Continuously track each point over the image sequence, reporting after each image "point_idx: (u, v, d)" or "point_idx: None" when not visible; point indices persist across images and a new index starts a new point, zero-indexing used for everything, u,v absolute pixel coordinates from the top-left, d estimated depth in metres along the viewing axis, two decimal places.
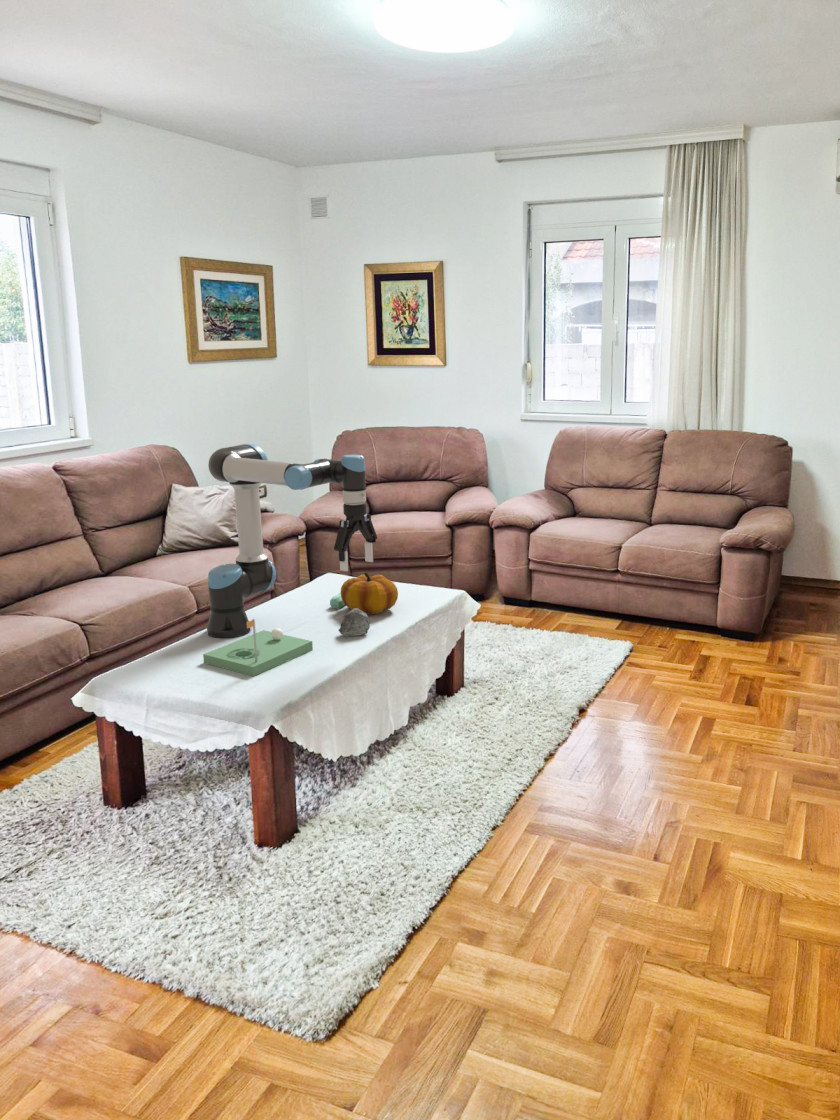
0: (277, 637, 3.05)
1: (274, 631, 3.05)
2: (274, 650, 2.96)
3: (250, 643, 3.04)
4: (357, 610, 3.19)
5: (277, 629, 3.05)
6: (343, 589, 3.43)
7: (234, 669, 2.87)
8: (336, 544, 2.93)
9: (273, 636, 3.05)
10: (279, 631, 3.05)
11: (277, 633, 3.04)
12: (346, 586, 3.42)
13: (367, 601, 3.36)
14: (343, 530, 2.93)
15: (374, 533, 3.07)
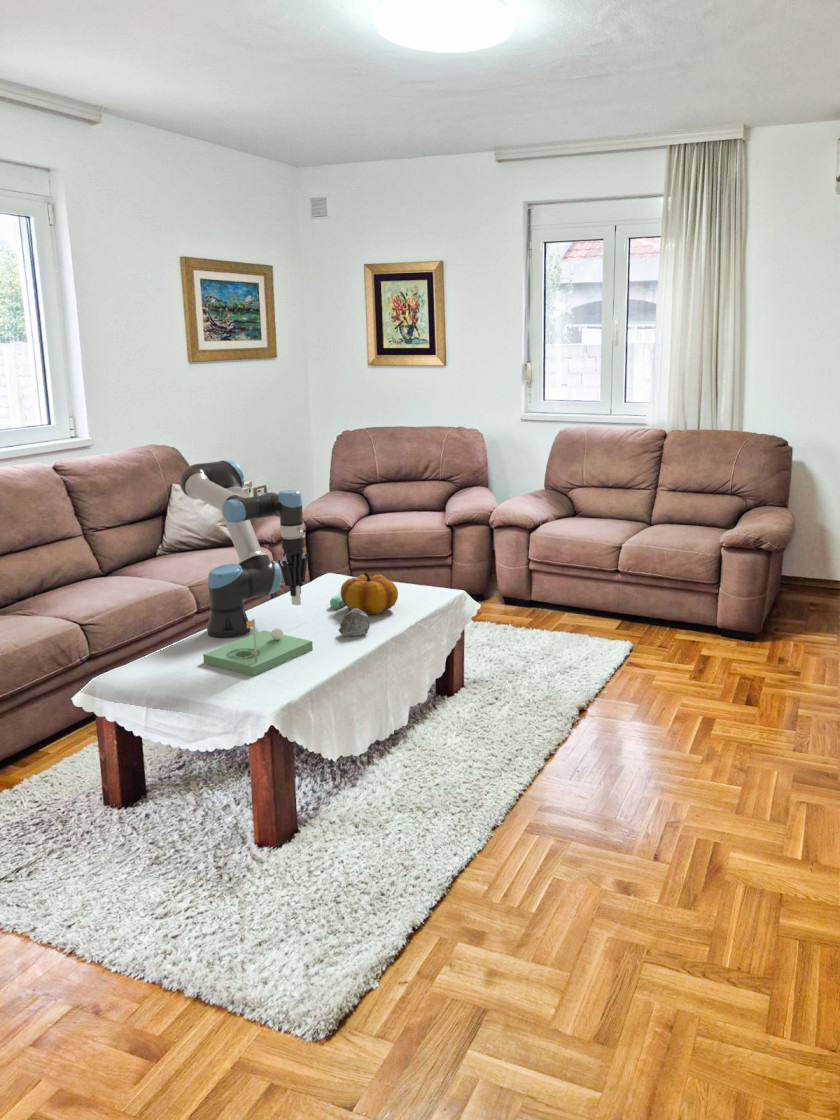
0: (277, 637, 3.05)
1: (274, 631, 3.05)
2: (274, 650, 2.96)
3: (250, 643, 3.04)
4: (357, 610, 3.19)
5: (277, 629, 3.05)
6: (343, 589, 3.43)
7: (234, 669, 2.87)
8: (285, 581, 3.07)
9: (273, 636, 3.05)
10: (279, 631, 3.05)
11: (277, 633, 3.04)
12: (346, 586, 3.42)
13: (367, 601, 3.36)
14: (285, 569, 3.04)
15: (304, 575, 3.12)
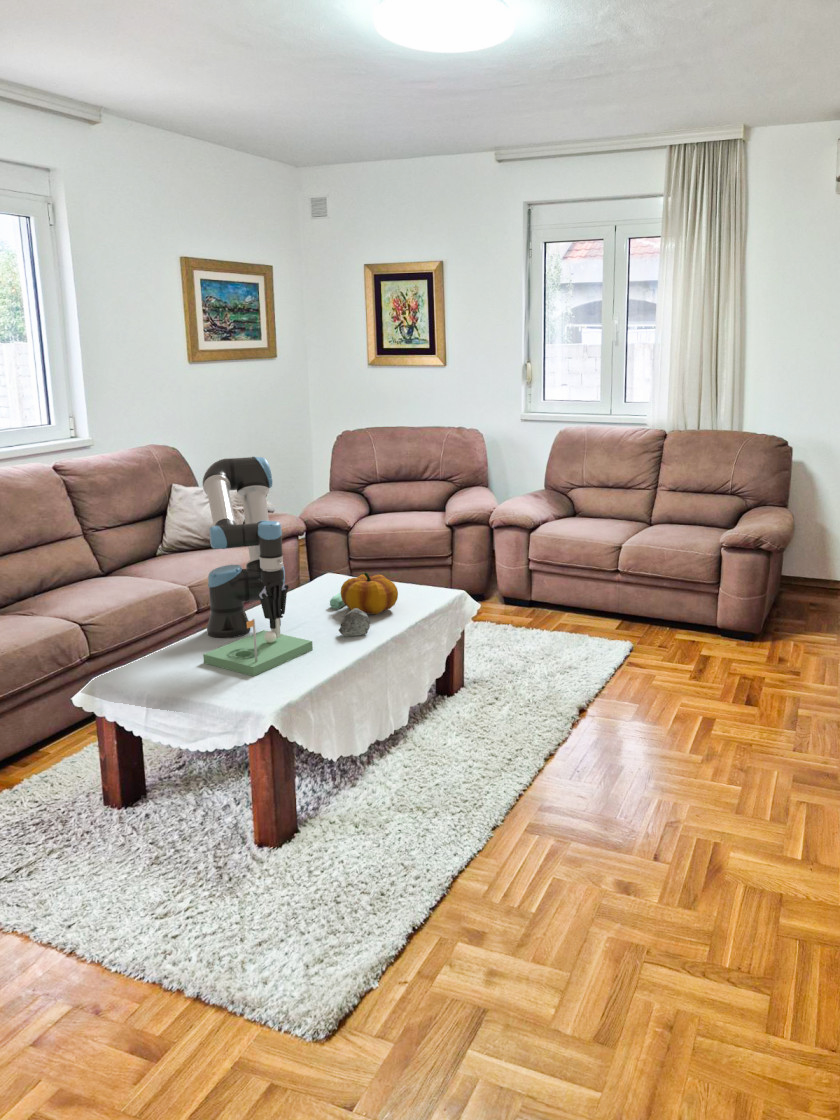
0: (274, 640, 3.04)
1: (268, 642, 3.03)
2: (274, 650, 2.96)
3: (250, 643, 3.04)
4: (357, 610, 3.19)
5: (268, 639, 3.02)
6: (343, 589, 3.43)
7: (234, 669, 2.87)
8: (265, 614, 3.01)
9: None
10: (271, 639, 3.02)
11: (272, 641, 3.02)
12: (346, 586, 3.42)
13: (367, 601, 3.36)
14: (265, 602, 2.98)
15: (284, 607, 3.06)
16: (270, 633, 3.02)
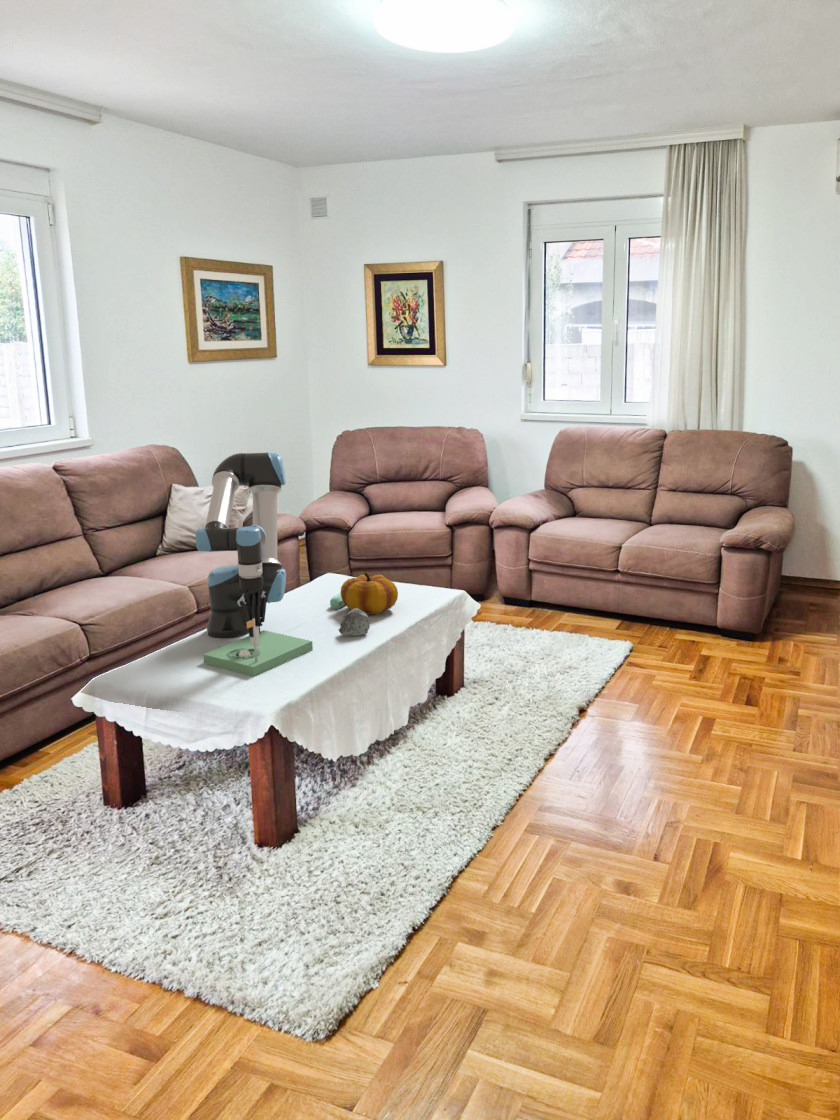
0: None
1: None
2: (274, 650, 2.96)
3: (250, 643, 3.04)
4: (357, 610, 3.19)
5: None
6: (343, 589, 3.43)
7: (234, 669, 2.87)
8: (243, 622, 2.93)
9: None
10: None
11: None
12: (346, 586, 3.42)
13: (366, 601, 3.36)
14: (243, 609, 2.90)
15: (263, 615, 2.98)
16: (243, 651, 2.94)
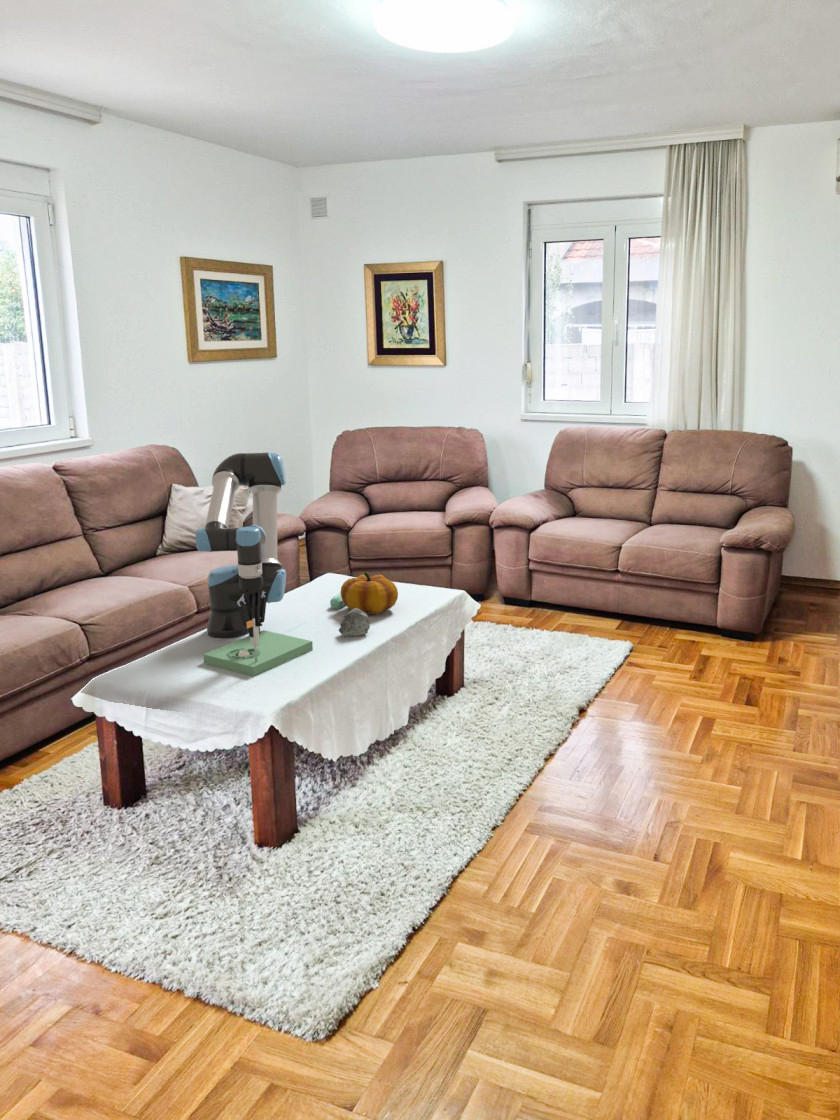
0: None
1: None
2: (274, 650, 2.96)
3: (250, 643, 3.04)
4: (357, 610, 3.19)
5: None
6: (343, 589, 3.43)
7: (234, 669, 2.87)
8: (243, 622, 2.93)
9: None
10: None
11: None
12: (346, 586, 3.42)
13: (367, 601, 3.36)
14: (243, 610, 2.90)
15: (263, 615, 2.98)
16: (241, 652, 2.93)
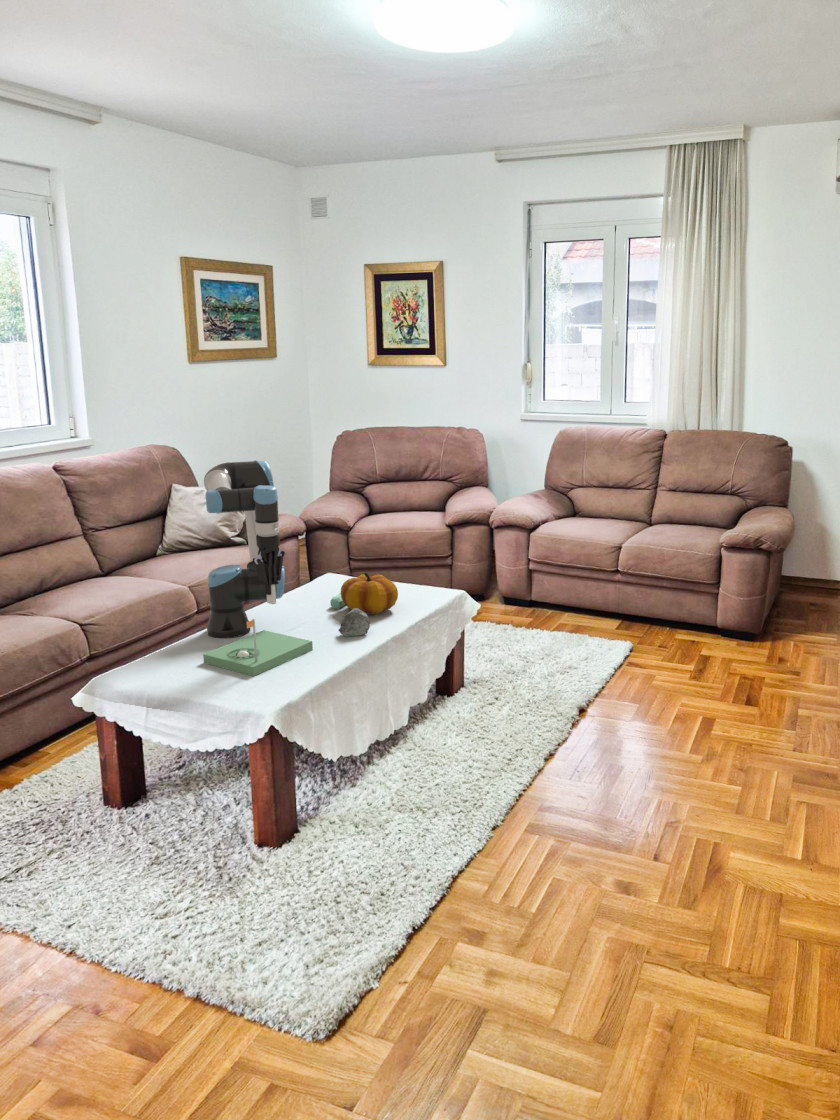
0: None
1: None
2: (274, 650, 2.96)
3: (250, 643, 3.04)
4: (357, 610, 3.19)
5: None
6: (343, 589, 3.43)
7: (234, 669, 2.87)
8: (260, 580, 2.97)
9: None
10: None
11: None
12: (346, 586, 3.42)
13: (367, 601, 3.36)
14: (260, 567, 2.95)
15: (280, 573, 3.02)
16: (240, 653, 2.93)
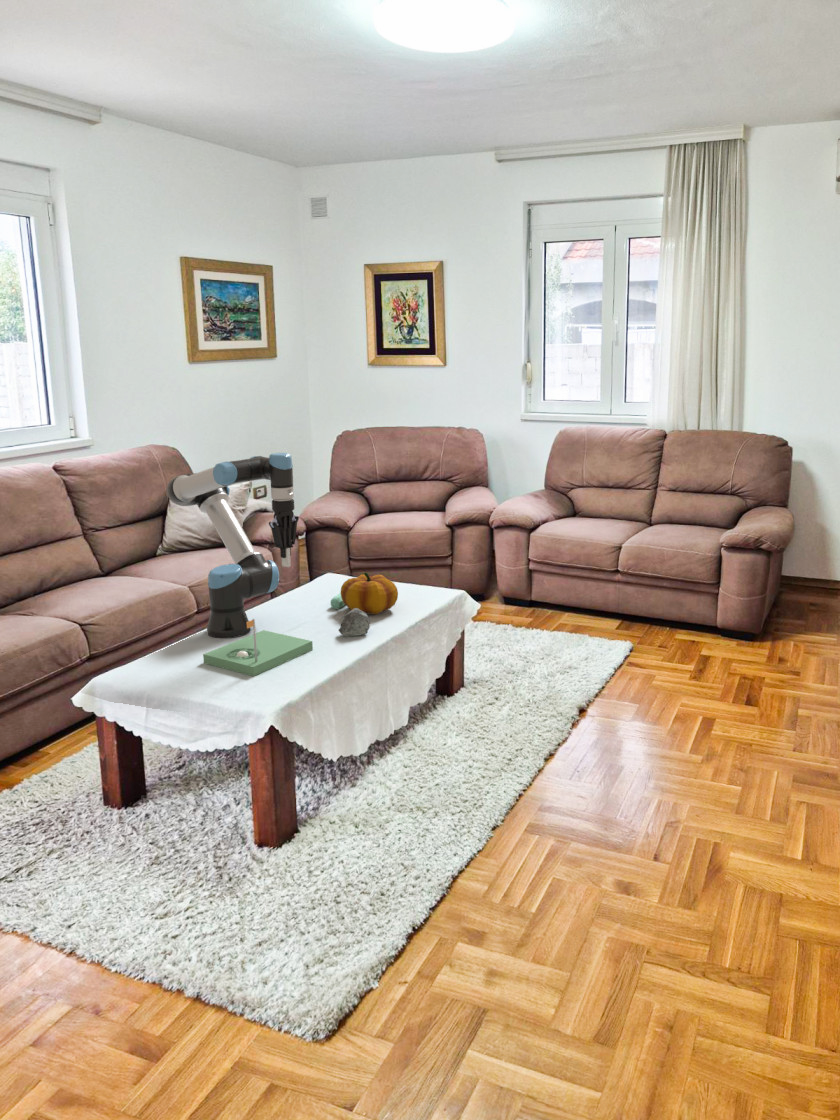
0: None
1: None
2: (274, 650, 2.96)
3: (250, 643, 3.04)
4: (357, 610, 3.19)
5: None
6: (343, 589, 3.43)
7: (234, 669, 2.87)
8: (276, 543, 3.11)
9: None
10: None
11: None
12: (346, 586, 3.42)
13: (367, 601, 3.36)
14: (275, 530, 3.09)
15: (294, 537, 3.16)
16: (238, 654, 2.92)
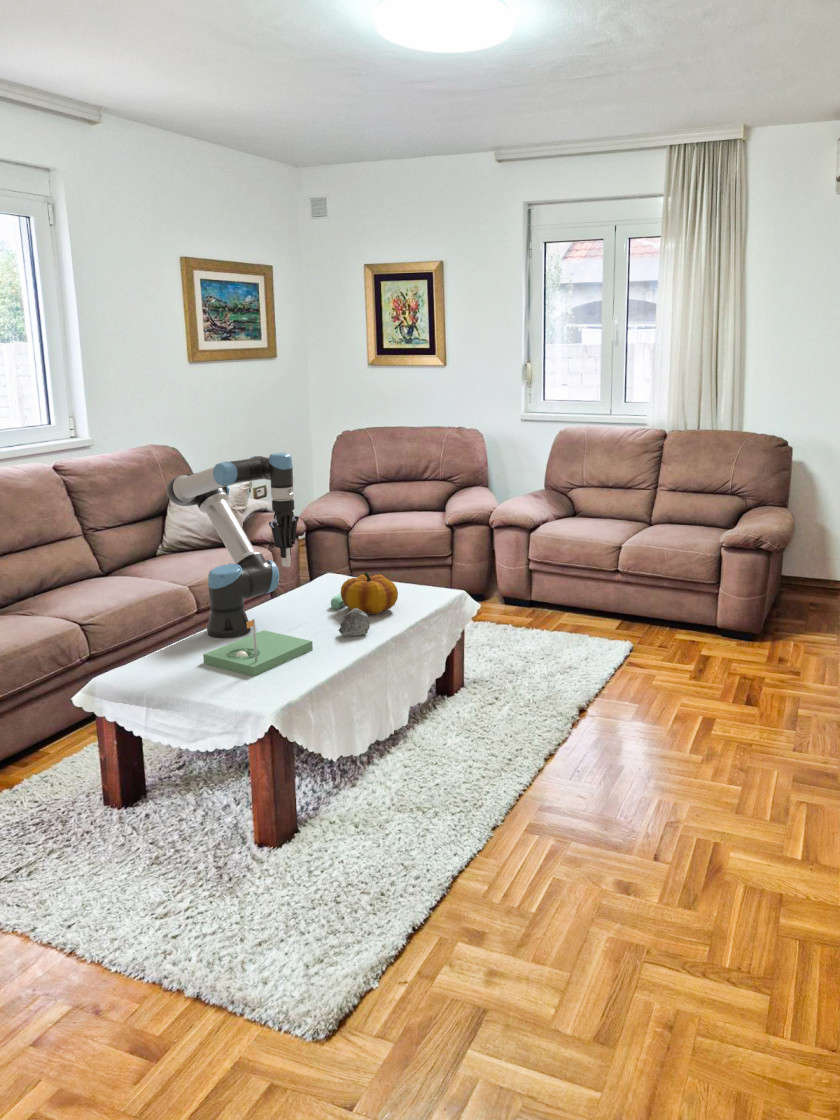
0: (247, 655, 2.94)
1: None
2: (274, 650, 2.96)
3: (250, 643, 3.04)
4: (357, 610, 3.19)
5: None
6: (343, 589, 3.43)
7: (234, 669, 2.87)
8: (276, 543, 3.11)
9: None
10: None
11: None
12: (346, 586, 3.42)
13: (366, 601, 3.36)
14: (276, 530, 3.09)
15: (294, 537, 3.16)
16: (237, 655, 2.92)
